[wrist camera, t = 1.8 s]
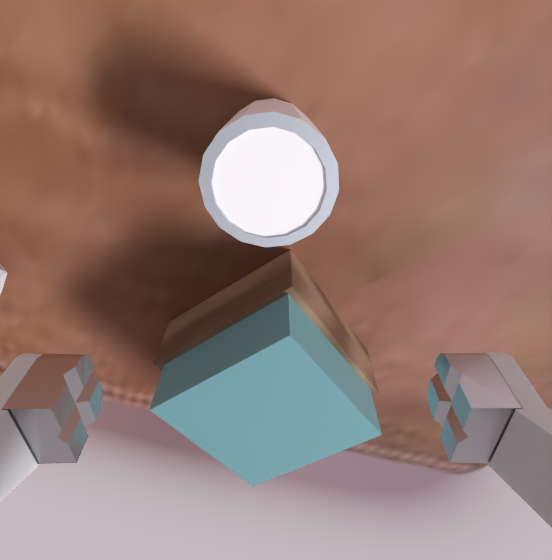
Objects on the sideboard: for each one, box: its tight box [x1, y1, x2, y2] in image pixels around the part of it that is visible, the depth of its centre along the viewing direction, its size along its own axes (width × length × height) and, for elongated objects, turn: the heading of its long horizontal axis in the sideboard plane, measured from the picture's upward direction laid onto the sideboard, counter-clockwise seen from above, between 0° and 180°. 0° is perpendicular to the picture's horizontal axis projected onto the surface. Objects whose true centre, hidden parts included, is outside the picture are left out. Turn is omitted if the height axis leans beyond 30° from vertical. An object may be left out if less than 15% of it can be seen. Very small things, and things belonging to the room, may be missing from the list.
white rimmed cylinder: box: [199, 98, 339, 247], centre depth 23 cm, size 7×7×7 cm
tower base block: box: [154, 250, 378, 395], centre depth 33 cm, size 12×12×5 cm
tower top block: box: [150, 294, 382, 486], centre depth 29 cm, size 11×11×4 cm
